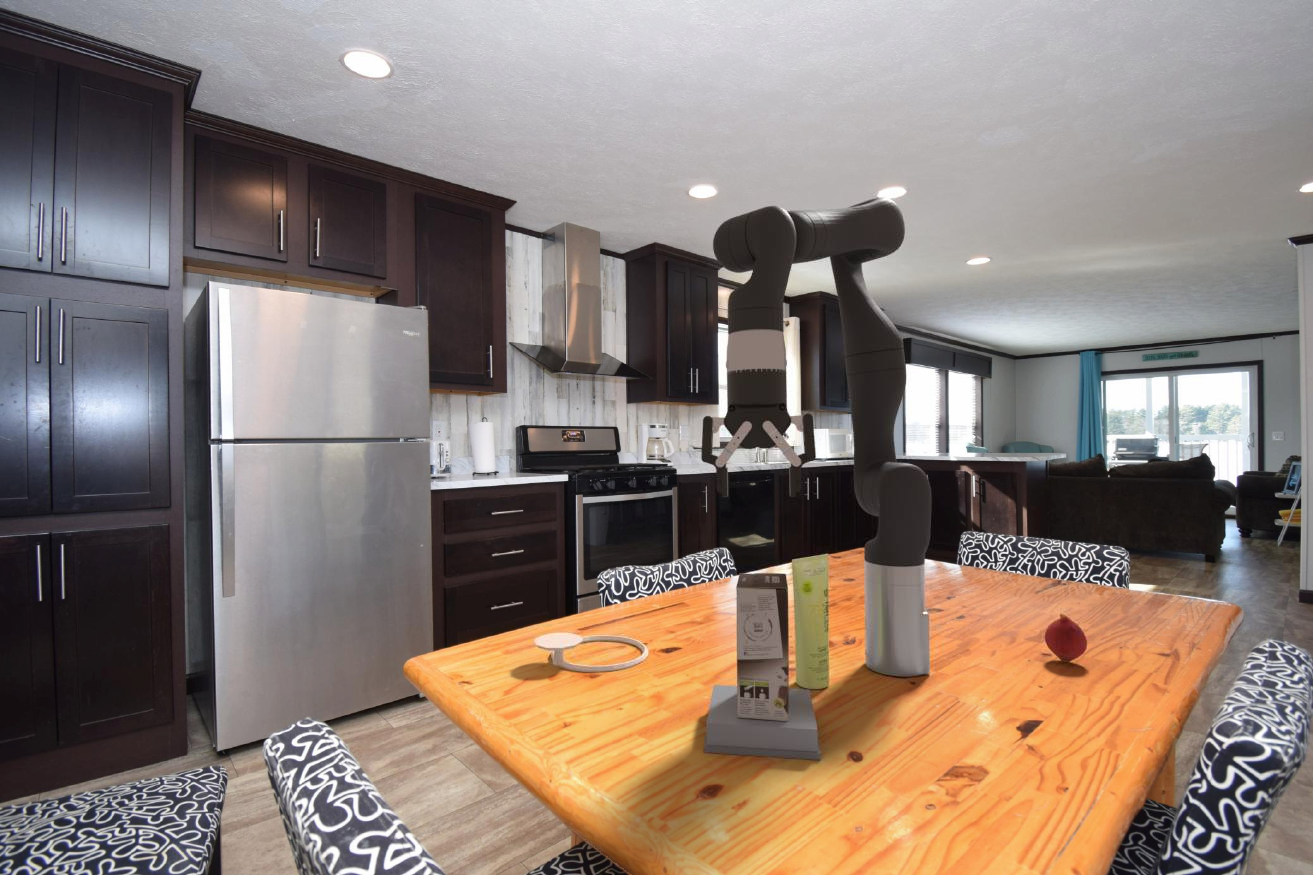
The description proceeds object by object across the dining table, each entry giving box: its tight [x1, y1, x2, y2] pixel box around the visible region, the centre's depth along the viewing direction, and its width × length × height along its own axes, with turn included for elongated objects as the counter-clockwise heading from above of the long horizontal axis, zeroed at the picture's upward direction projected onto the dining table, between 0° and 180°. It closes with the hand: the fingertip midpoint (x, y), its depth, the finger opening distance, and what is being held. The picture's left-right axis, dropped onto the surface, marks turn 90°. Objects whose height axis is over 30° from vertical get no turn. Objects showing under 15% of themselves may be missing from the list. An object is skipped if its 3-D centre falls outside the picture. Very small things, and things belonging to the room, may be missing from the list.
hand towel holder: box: [533, 632, 649, 673], centre depth 111 cm, size 17×4×21 cm
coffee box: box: [735, 572, 790, 721], centre depth 82 cm, size 9×6×16 cm
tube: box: [791, 553, 830, 690], centre depth 97 cm, size 6×5×20 cm
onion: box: [1044, 612, 1088, 663], centre depth 106 cm, size 6×6×8 cm
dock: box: [703, 684, 822, 761], centre depth 82 cm, size 14×13×3 cm
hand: (758, 496), depth 82 cm, fingers open, 8 cm apart
